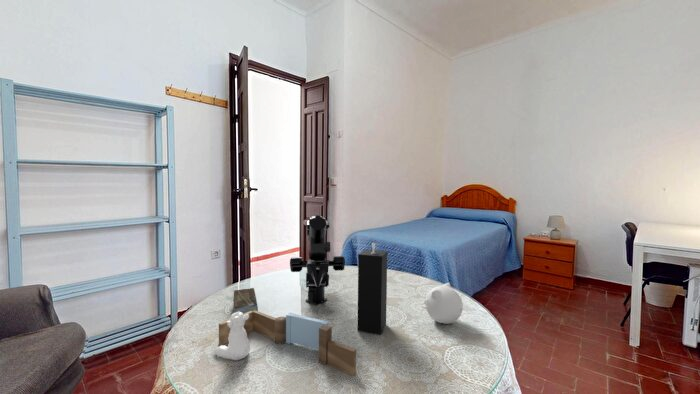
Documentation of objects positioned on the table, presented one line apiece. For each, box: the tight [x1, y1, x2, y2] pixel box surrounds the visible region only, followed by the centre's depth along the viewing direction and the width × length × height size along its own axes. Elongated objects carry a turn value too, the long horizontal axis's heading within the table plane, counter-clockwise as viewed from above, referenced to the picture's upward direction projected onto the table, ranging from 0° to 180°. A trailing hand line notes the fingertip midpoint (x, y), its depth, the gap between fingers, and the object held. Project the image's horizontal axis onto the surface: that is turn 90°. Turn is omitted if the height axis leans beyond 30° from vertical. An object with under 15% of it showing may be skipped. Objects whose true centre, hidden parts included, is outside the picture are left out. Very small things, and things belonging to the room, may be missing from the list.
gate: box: [285, 312, 330, 351], centre depth 86 cm, size 13×2×8 cm, turn 65°
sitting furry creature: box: [214, 312, 251, 361], centre depth 82 cm, size 10×9×12 cm
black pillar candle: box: [357, 242, 388, 335], centre depth 98 cm, size 8×8×28 cm
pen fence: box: [218, 310, 357, 376], centre depth 82 cm, size 14×40×9 cm, turn 55°
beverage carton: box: [232, 287, 259, 314], centre depth 109 cm, size 8×19×6 cm, turn 21°
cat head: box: [420, 282, 464, 325], centre depth 103 cm, size 15×13×12 cm
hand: (317, 286), depth 99 cm, fingers closed
